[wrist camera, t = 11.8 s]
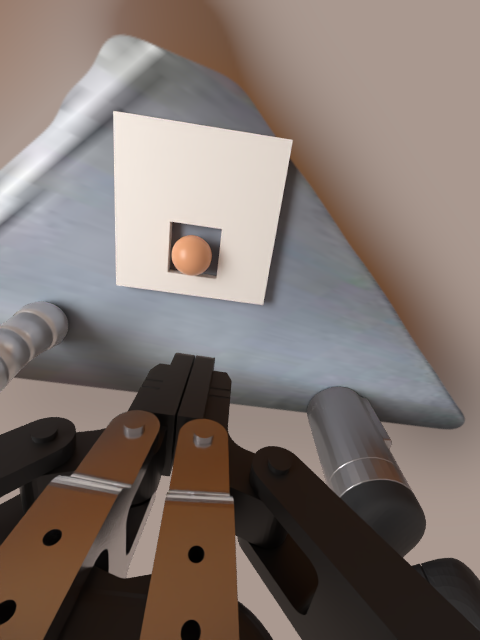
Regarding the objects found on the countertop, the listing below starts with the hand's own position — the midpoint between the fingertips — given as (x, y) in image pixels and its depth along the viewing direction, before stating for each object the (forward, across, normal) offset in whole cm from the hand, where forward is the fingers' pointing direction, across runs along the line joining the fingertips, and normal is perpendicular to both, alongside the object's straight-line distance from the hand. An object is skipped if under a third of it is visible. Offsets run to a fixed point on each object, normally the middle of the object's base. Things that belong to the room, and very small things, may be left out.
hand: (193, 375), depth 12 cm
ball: (+29, +5, +2) cm, 30 cm away
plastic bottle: (+32, +25, +14) cm, 43 cm away
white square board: (+32, +5, -3) cm, 32 cm away
